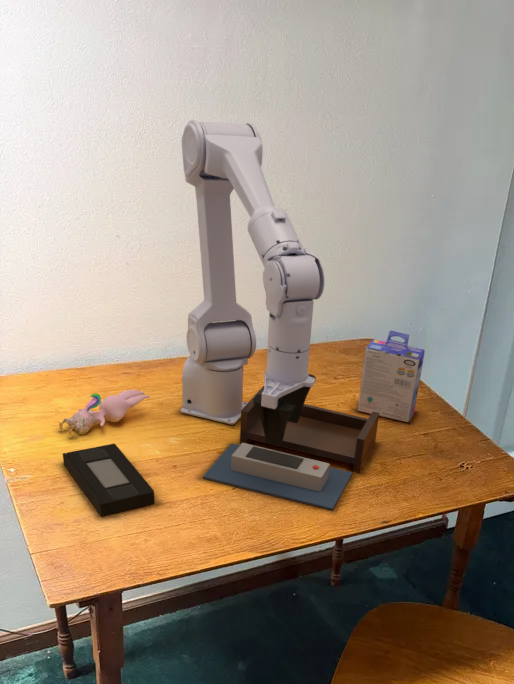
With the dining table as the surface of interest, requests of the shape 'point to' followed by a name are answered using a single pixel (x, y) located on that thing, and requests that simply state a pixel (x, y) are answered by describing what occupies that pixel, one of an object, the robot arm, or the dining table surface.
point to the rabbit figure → (103, 410)
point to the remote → (280, 467)
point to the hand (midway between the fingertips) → (282, 431)
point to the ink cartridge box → (391, 378)
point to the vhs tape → (108, 479)
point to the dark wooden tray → (319, 433)
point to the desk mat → (279, 483)
